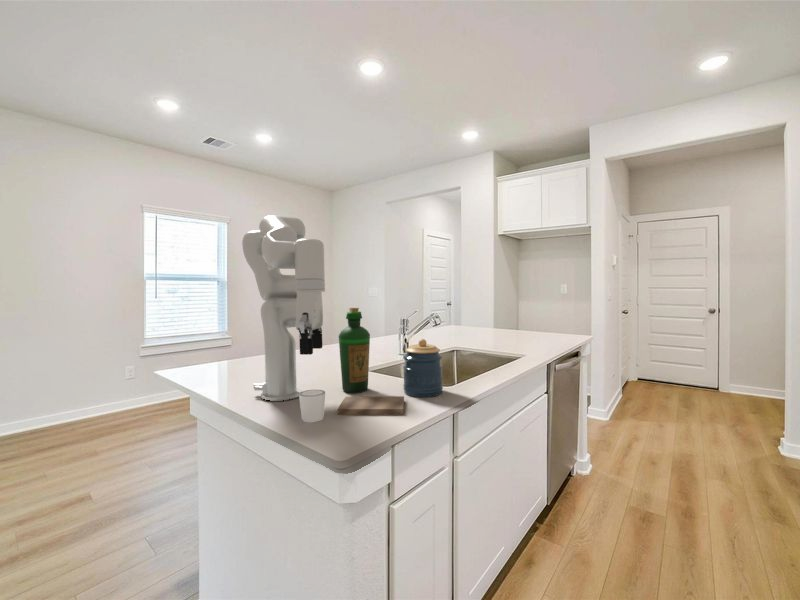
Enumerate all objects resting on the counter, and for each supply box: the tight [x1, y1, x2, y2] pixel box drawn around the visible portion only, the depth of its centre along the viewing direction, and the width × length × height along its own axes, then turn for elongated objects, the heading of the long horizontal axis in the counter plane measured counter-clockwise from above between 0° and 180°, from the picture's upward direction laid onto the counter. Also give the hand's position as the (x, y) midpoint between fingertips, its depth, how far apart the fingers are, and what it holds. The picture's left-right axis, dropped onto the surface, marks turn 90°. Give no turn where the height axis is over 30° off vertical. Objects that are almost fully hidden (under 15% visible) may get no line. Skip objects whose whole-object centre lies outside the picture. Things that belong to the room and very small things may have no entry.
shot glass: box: [298, 389, 326, 423], centre depth 99 cm, size 7×7×7 cm
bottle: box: [338, 307, 371, 394], centre depth 126 cm, size 11×11×28 cm
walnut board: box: [336, 395, 405, 416], centre depth 107 cm, size 18×12×2 cm, turn 88°
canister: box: [402, 338, 444, 398], centre depth 122 cm, size 13×13×18 cm
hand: (311, 351), depth 98 cm, fingers open, 9 cm apart
